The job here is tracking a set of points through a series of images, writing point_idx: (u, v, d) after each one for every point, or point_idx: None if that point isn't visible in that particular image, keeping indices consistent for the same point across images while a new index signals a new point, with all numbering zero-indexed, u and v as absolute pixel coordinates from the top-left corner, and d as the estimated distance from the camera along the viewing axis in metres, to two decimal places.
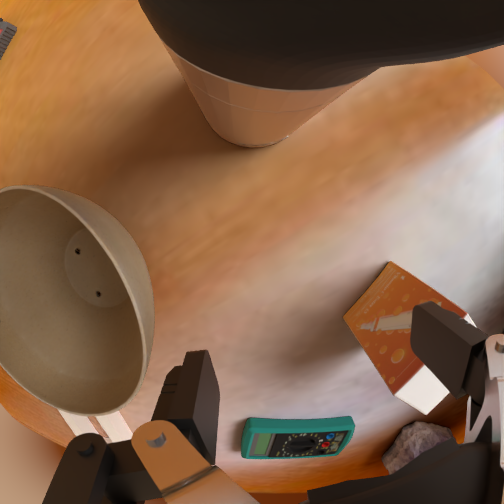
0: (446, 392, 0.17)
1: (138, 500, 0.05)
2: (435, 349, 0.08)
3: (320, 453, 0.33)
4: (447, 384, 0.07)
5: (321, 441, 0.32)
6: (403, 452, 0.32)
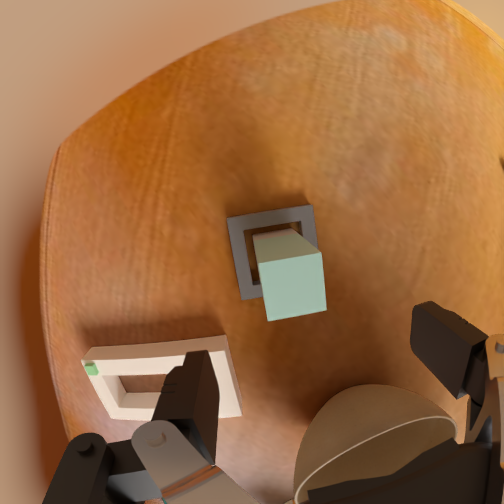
0: None
1: (138, 500, 0.05)
2: (435, 349, 0.08)
3: None
4: (447, 384, 0.07)
5: None
6: None
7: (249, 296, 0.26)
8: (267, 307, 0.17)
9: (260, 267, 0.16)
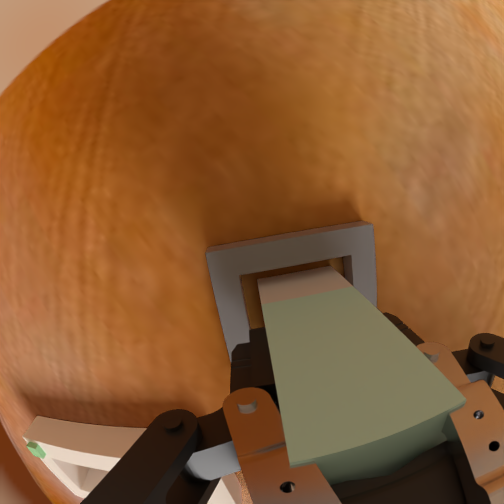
0: None
1: (220, 476, 0.06)
2: None
3: None
4: None
5: None
6: None
7: None
8: None
9: None
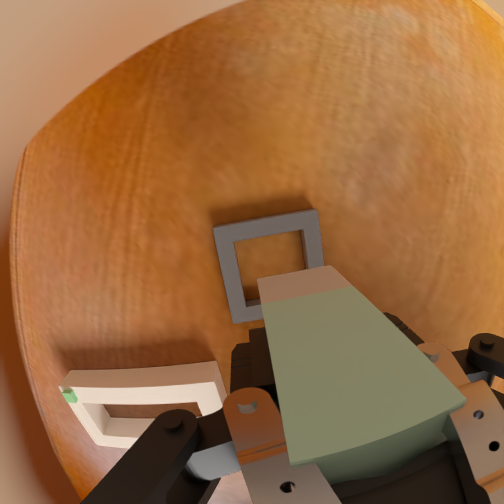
0: None
1: (220, 476, 0.06)
2: None
3: None
4: None
5: None
6: None
7: (242, 319, 0.21)
8: None
9: None
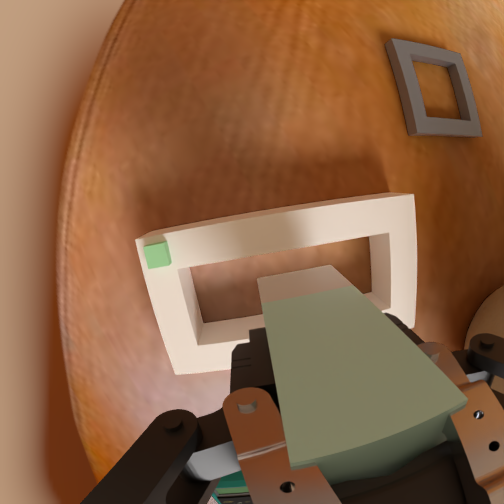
0: None
1: (220, 476, 0.06)
2: None
3: None
4: None
5: None
6: None
7: (424, 130, 0.15)
8: None
9: None
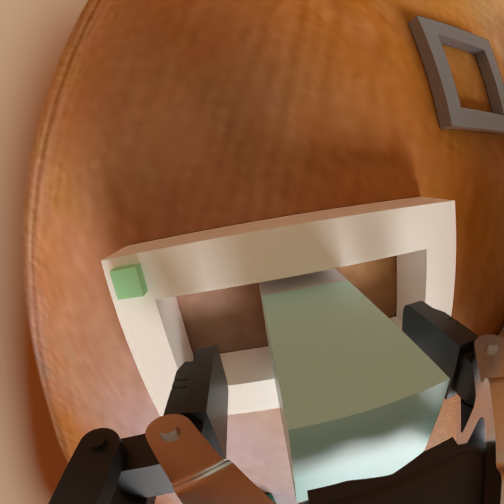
0: None
1: (150, 495, 0.05)
2: (425, 349, 0.08)
3: None
4: None
5: None
6: None
7: (459, 123, 0.12)
8: (299, 488, 0.05)
9: (293, 437, 0.05)
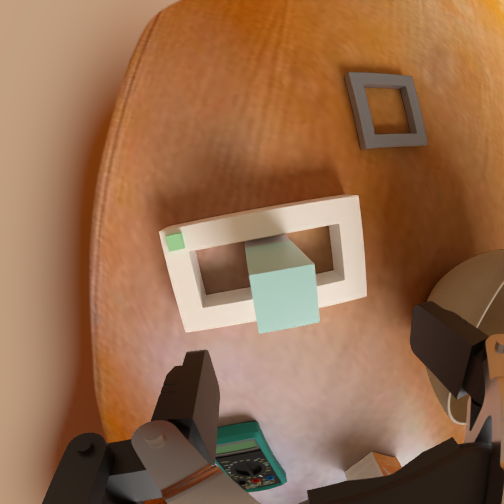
0: None
1: (138, 500, 0.05)
2: (435, 349, 0.08)
3: (239, 482, 0.30)
4: (446, 384, 0.07)
5: (259, 476, 0.30)
6: None
7: (372, 145, 0.22)
8: (258, 319, 0.16)
9: (251, 279, 0.15)
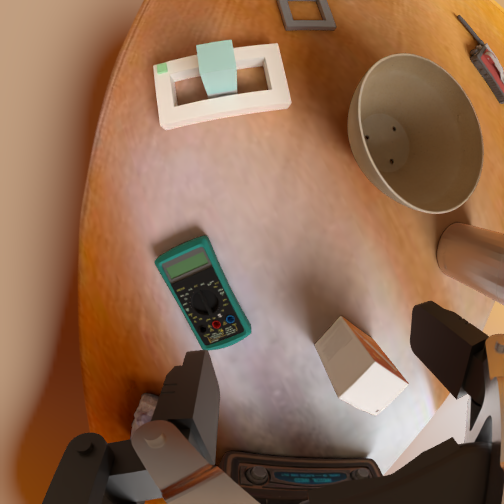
0: (354, 402, 0.29)
1: (138, 500, 0.05)
2: (435, 349, 0.08)
3: (200, 330, 0.38)
4: (447, 384, 0.07)
5: (218, 317, 0.37)
6: None
7: (291, 25, 0.30)
8: (199, 66, 0.23)
9: (197, 46, 0.23)
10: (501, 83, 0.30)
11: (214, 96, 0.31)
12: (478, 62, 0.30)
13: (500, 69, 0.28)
